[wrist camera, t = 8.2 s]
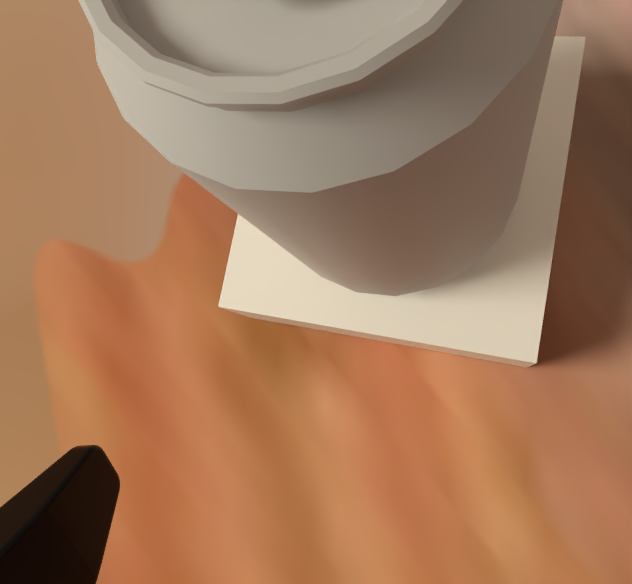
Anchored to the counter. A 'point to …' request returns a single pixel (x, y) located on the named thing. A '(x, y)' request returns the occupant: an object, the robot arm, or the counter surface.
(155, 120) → the can
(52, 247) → the counter surface
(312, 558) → the counter surface
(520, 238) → the socket block
